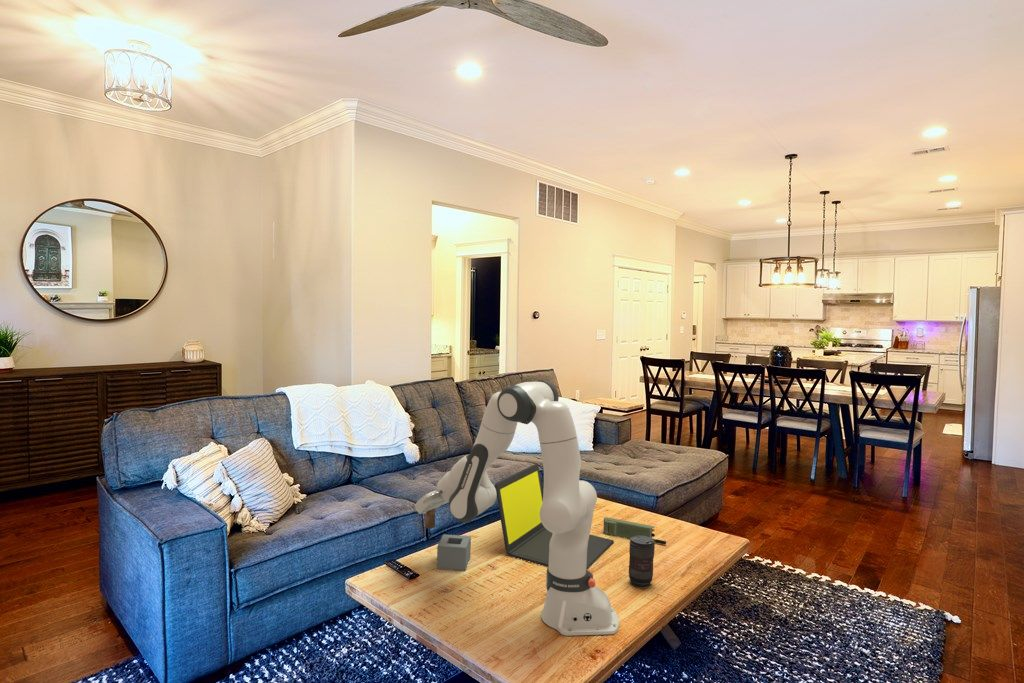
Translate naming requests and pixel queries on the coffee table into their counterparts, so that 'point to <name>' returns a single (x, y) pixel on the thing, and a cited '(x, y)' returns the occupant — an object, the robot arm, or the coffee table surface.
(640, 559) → the camera lens
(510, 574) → the coffee table surface
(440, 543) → the socket block
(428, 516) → the walnut peg
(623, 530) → the handheld radio
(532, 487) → the laptop
